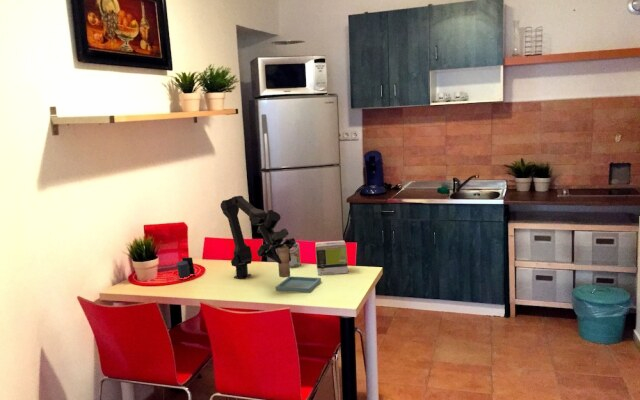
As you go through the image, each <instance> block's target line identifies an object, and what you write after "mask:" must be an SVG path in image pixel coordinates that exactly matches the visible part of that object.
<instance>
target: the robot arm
mask: <svg viewBox="0 0 640 400" xmlns="http://www.w3.org/2000/svg"><path fill="white" fill-rule="evenodd" d="M220 208H221V211H222V214H223V215H224V216H225V217H226V218H227V220H228V225H229V229H230V231H231V234H232V235H231V236H232V240H233V243H234V249H233V257H232V259H231V261H230V263H231V266H232V267H235V272H236V273H235V274H236V275H234V276H233V278H234V279H247V278H249V277H250V276H251V275H252V274H251V273H249V270H248V265H250V264H252V260H253V252H252V249H251V246H250V245H247V244H246V242H245V239H244V235H243V232H242V228H241V224H240V220H239V216H238V214H239V211H240V210H241V211H242V212H243V213H245V214H246V215H247V216H248V221H250V223H251V224H252V225H253V226H258V228H257V231H256V232H257V234H261V236H262V237H263V239H264V240H263V243H265V244H261V245H260V246H259V248H258V249H257V251H256V254H257V256H258V257H259V258H260V257H266V258H270V259H271V260H273V261H274V262H276V263H277V264H278V263H279V264H281V263H282V262H281V260H280V258H279V256H278V252H277V251H276V250H277V248H278V247H281V246H287V247H289V249H291V248H292V247H293V246H294V244H295V243H296V242H297V240H296V239H295V238H294V237H289V238H287V236H289V231H288V230H287V228H283V229H281V230H279V231H275V230H274V229H275V228H276V227H277V225H278V224H279V222H280V221H281V218H282V217H281V215H280V214H279V213H278V212H276V211H274V209H268V211H267V212H266V211H264V210H263V209H259V208H256V207H255V206H254V205H253V204H251V203H250V202H249V200H247V199H245V197H244V196H243V195H236V196H233V197H231V198H229V199H224V200H222V201H221V203H220ZM284 238H285V240H284ZM283 241H284V242H283ZM289 261H291V257H290V250H289Z"/></svg>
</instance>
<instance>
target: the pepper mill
mask: <svg viewBox="0 0 640 400" xmlns="http://www.w3.org/2000/svg"><path fill="white" fill-rule="evenodd" d="M276 250H277V251H276V253H277V255H278V256H279V258H280V260H281V262H282V263H281V264H279V263H278V262H277V264H278V276H279V277H278V278H284V279H285V278H288V277H289V276H291V268H290V263H289V247H287V246H281V247H278V248H277V249H276Z"/></svg>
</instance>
